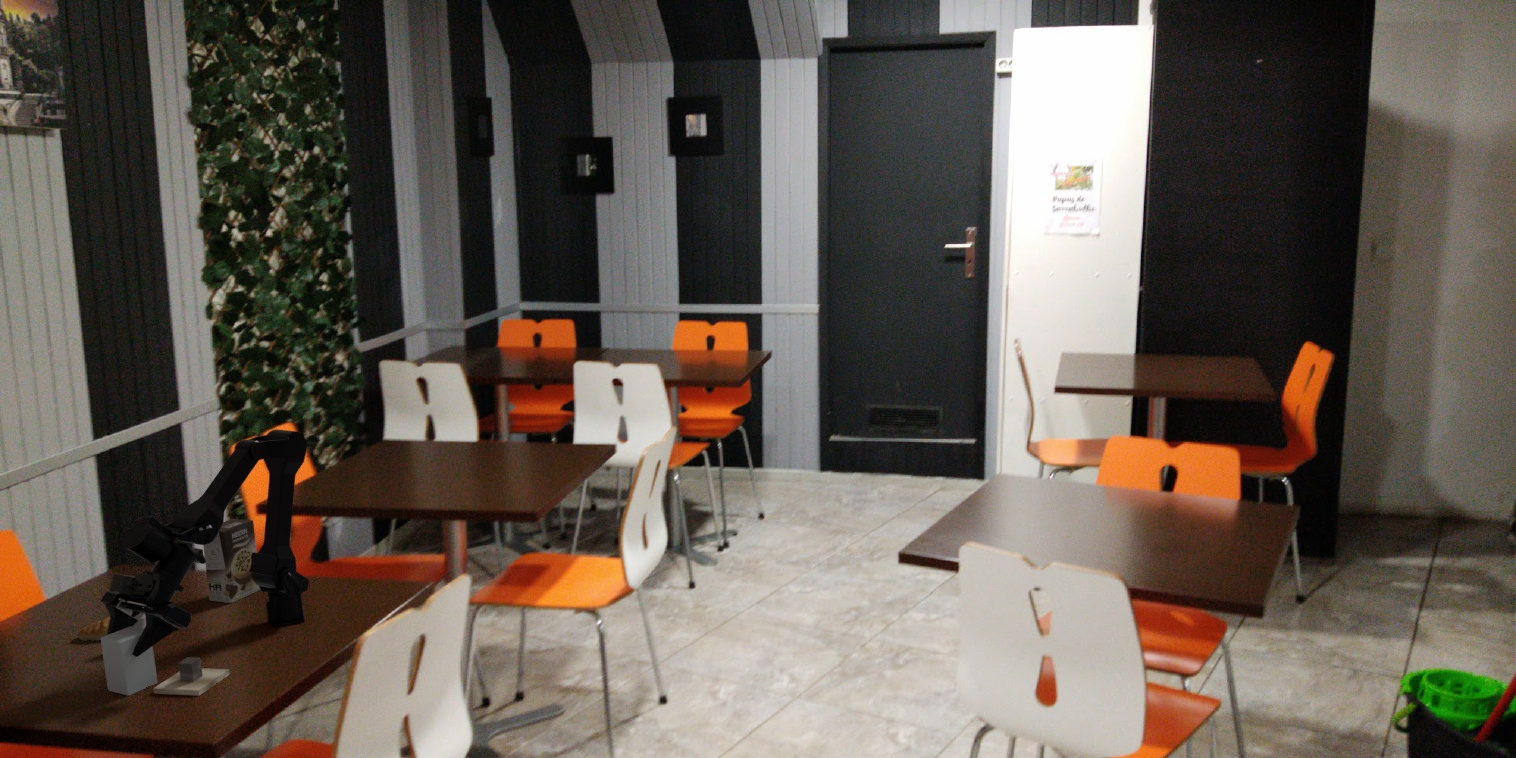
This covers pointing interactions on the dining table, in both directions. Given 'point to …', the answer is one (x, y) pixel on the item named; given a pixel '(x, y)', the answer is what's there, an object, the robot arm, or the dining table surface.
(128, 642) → the grey tall rectangular block
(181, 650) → the dining table surface
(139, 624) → the rook chess piece
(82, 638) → the pastry
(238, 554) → the coffee box
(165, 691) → the post board
